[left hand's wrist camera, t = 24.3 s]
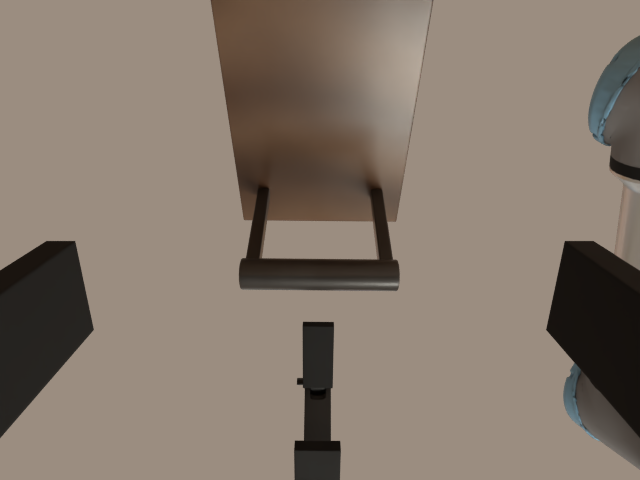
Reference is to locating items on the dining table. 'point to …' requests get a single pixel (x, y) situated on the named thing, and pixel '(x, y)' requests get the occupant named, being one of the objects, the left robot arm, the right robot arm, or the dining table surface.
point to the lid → (320, 124)
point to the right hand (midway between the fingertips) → (318, 372)
